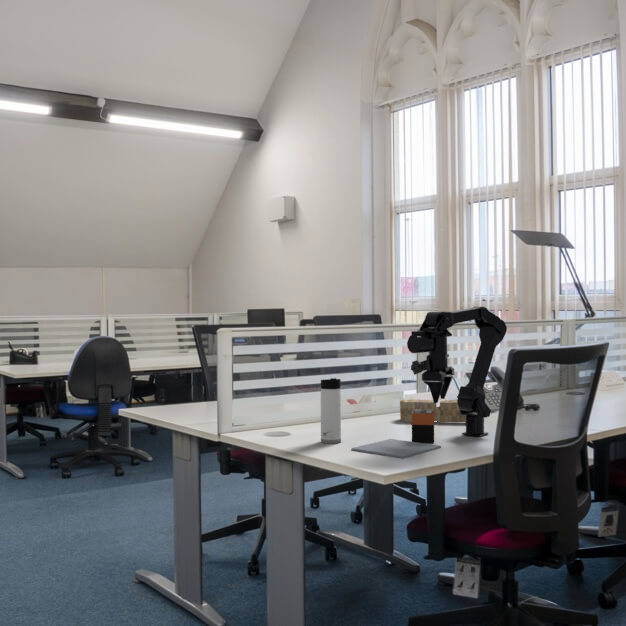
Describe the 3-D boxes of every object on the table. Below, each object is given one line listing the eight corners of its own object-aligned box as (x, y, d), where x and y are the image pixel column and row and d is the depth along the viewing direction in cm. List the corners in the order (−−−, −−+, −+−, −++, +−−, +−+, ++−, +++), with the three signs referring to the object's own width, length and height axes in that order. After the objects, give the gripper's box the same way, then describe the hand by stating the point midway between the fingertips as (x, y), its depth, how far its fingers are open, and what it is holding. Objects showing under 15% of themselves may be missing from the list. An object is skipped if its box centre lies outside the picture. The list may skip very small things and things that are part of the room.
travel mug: (324, 444, 223) (324, 378, 223) (318, 440, 229) (318, 376, 229) (344, 443, 225) (343, 378, 224) (337, 439, 231) (337, 376, 231)
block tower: (399, 425, 267) (481, 424, 262) (399, 401, 267) (481, 400, 262) (401, 421, 275) (481, 420, 269) (400, 399, 275) (480, 398, 269)
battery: (412, 440, 229) (412, 408, 229) (434, 441, 228) (434, 409, 228) (411, 443, 224) (411, 410, 224) (434, 443, 223) (434, 411, 223)
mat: (390, 440, 229) (390, 438, 229) (440, 447, 217) (440, 445, 217) (351, 450, 213) (351, 448, 213) (403, 458, 202) (403, 455, 202)
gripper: (420, 349, 242) (421, 396, 242) (404, 353, 225) (406, 404, 225) (454, 349, 237) (455, 397, 238) (440, 353, 220) (442, 405, 220)
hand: (439, 400), depth 230 cm, fingers open, 9 cm apart
